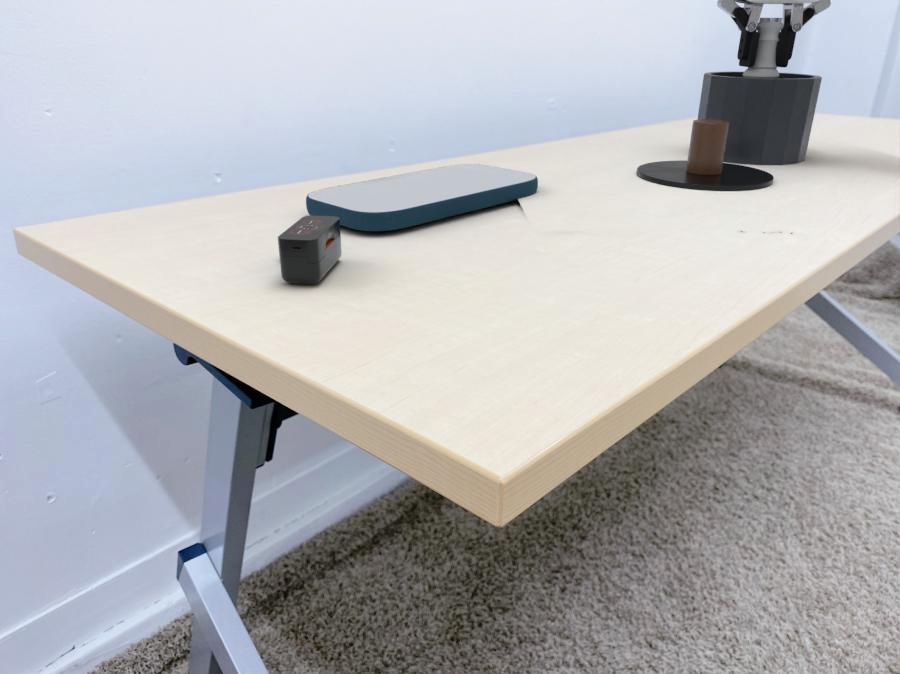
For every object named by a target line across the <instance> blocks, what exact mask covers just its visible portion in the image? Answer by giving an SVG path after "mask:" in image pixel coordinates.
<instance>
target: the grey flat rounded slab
mask: <svg viewBox="0 0 900 674" xmlns="http://www.w3.org/2000/svg"><path fill="white" fill-rule="evenodd" d="M538 186H539V179H538V177H537V175H535V174H534V173H530V172H525V171H522V170H521V171H520V170H515V169H511V168H504V167H498V166H495V165H494V166H493V165H486V164H477V163H465V164H464V163H463V164H462V163H461V164H452V165H446V166H439V167H435V168H434V167H433V168H429V169H424V170H418V171H412V172H407V173H402V174H396V175H391V176H385V177H380V178H375V179H369V180H364V181H358V182H353V183H352V182H351V183H347V184H342V185H335V186H331V187H330V186H329V187H326V188H321V189H317V190H313V191H311V192H309V193H308V194H307V195H306V197H305V206H306V211H307V213H308V215H309V216H335V217H339V218H340V226H342V227H345V228H349V229H353V230H356V231H363V232H386V231H394V230H400V229H405V228H409V227H413V226H417V225H422V224H426V223H429V222H434V221H437V220H442V219H445V218H446V219H447V218H450V217H453V216H458V215H462V214H465V213H470V212H473V211H478V210H482V209H484V208H485V209H486V208H490V207H494V206H497V205H501V204H506V203H510V202H513V201H517V200H519V199H523V198H525V197H526V198H527V197H530V196H532V195H534V194H536V193H537V191H538Z"/></svg>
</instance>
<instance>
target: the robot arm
mask: <svg viewBox="0 0 900 674" xmlns="http://www.w3.org/2000/svg"><path fill="white" fill-rule="evenodd" d="M738 3H739V4H743V7H742V6H741V5H739V4H738ZM804 4H808V5H807V6H806V7H804V6H805V5H804ZM764 5H782V17H781V18H782V24H783V26H784V27H783V28H782V30H781V31H780V32H779V34H778V38H779V41H778V42H777V47H776V66H777V68H787V67H788V65H789V61H790V60H791V59H792V56H793V52H794V47H795V43H796V37H797V33H798V32H800V31H801V30H802V29H803V27H804V26H805V25H806V24H807V23H808V22H809V21H811V20H812V18H813V17H814V16H816V15H819V14H820V13H822V12H824V11H826V10H827V9H829V8H830V7H831V5H832V2H831V0H717V2H716V6H717V7H718V8H719V9H720V10H722V11H723V12H725V13H726V14H727V15H728V16H730V18H731V19H732V20H733V22H734V23H735V24H736V26H737V29H738V31H739V32H740V37H739V42H738V49H737V55H736V56H737V60H739V61H738V66H739V67H743V68H744V67H745V68H748V67H753V66H754V65H755V60H756V54H757V48H758V43H759V37H760V33H759V32H758V31H757V24H758V23H759V20H760V18H761V14H762V10H763V8H764Z"/></svg>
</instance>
